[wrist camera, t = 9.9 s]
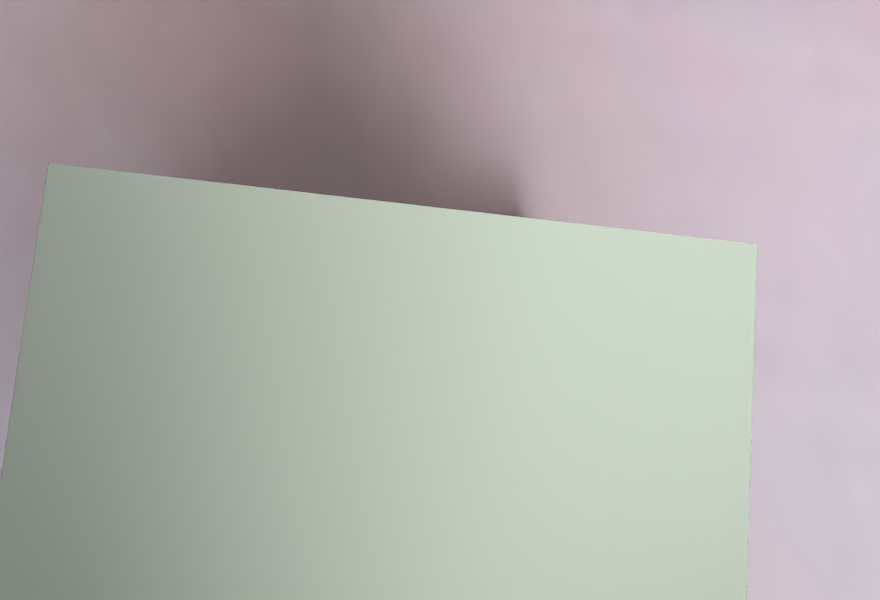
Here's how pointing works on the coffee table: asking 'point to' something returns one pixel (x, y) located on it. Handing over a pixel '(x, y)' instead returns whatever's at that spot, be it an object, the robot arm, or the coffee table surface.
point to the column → (371, 402)
